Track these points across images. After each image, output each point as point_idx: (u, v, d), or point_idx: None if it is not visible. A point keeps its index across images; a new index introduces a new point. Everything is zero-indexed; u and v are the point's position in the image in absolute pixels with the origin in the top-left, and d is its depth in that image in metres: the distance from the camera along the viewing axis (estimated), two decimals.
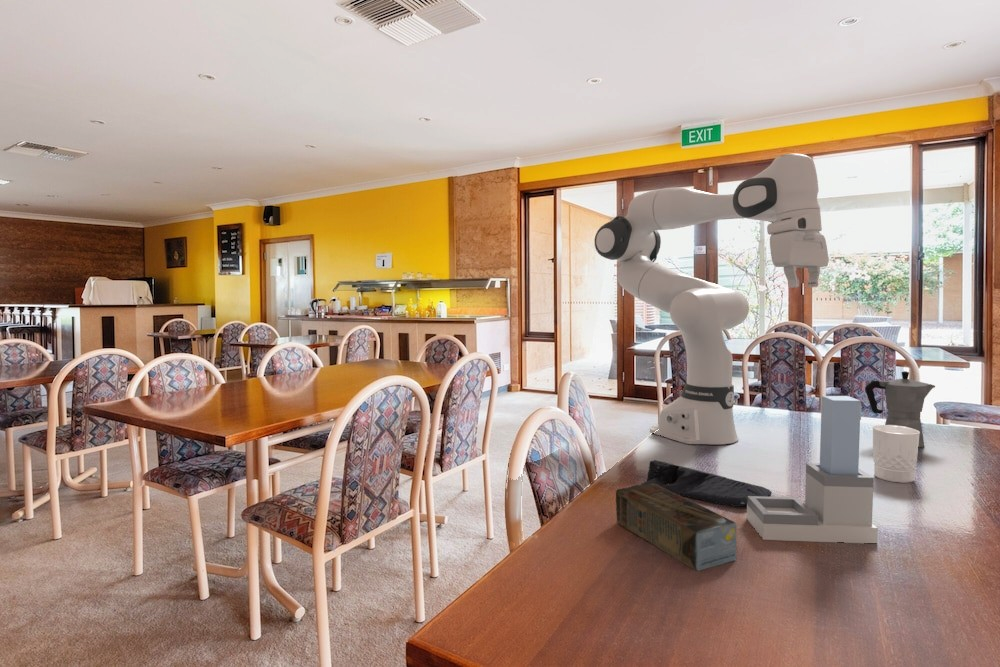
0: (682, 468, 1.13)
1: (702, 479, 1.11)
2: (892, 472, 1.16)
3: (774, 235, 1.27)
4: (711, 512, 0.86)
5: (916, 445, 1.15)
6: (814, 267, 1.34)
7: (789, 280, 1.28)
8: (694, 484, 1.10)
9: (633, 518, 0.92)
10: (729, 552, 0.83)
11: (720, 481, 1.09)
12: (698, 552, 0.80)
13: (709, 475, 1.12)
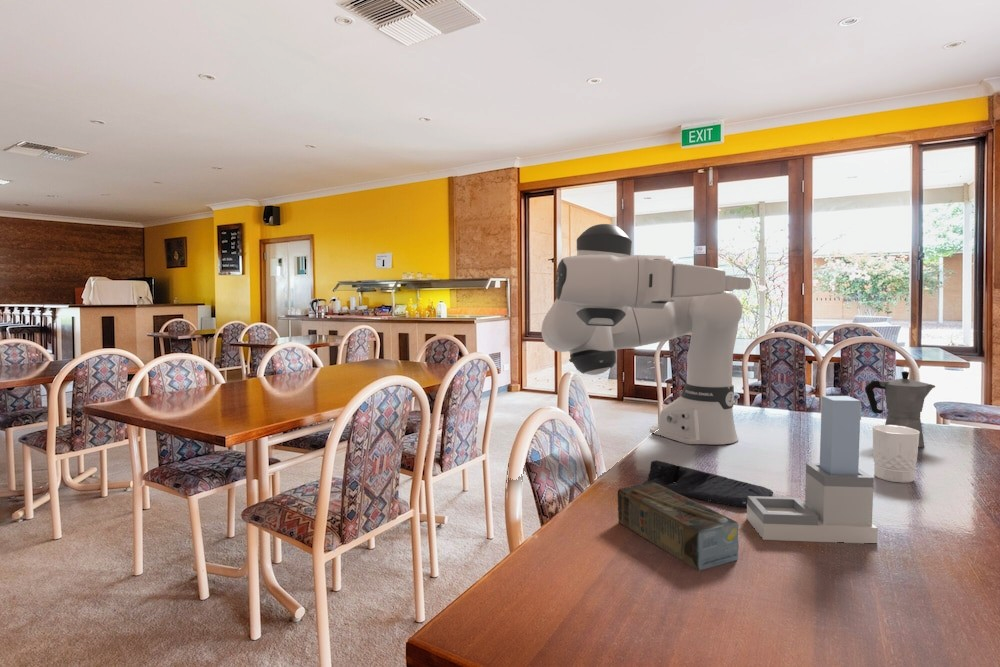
0: (683, 468, 1.13)
1: (703, 479, 1.11)
2: (892, 472, 1.16)
3: (676, 290, 0.88)
4: (713, 512, 0.87)
5: (916, 445, 1.15)
6: None
7: (739, 286, 0.89)
8: (696, 484, 1.10)
9: (635, 518, 0.92)
10: (731, 552, 0.83)
11: (722, 481, 1.09)
12: (700, 552, 0.80)
13: (710, 475, 1.12)
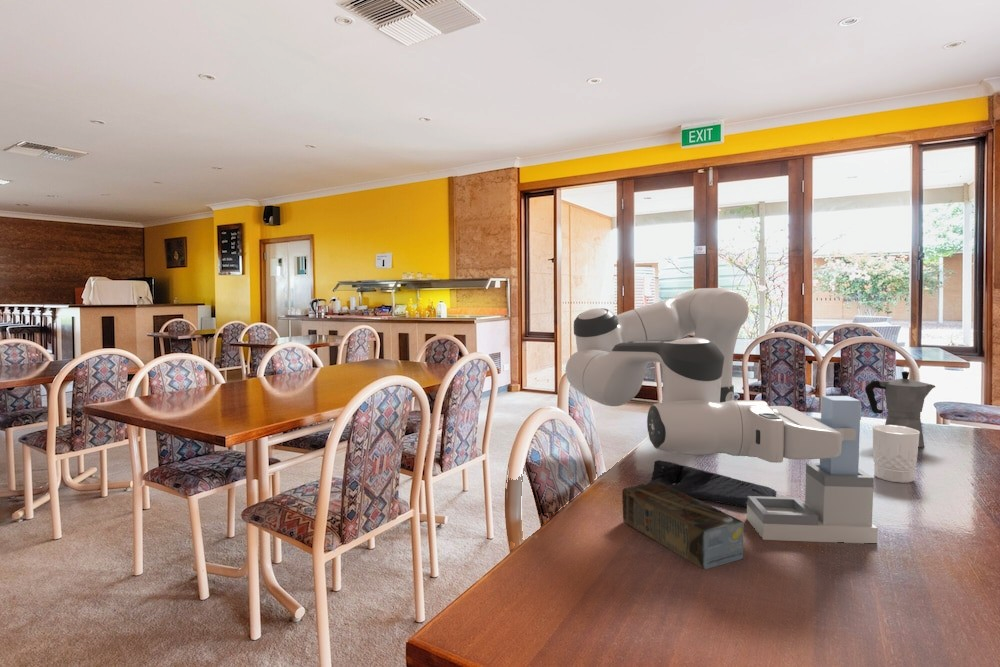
0: (687, 468, 1.13)
1: (707, 479, 1.11)
2: (892, 472, 1.16)
3: (789, 452, 0.84)
4: (718, 511, 0.87)
5: (916, 445, 1.15)
6: None
7: (844, 437, 0.88)
8: (699, 484, 1.10)
9: (640, 517, 0.93)
10: (736, 551, 0.83)
11: (725, 481, 1.09)
12: (706, 551, 0.81)
13: (714, 475, 1.12)
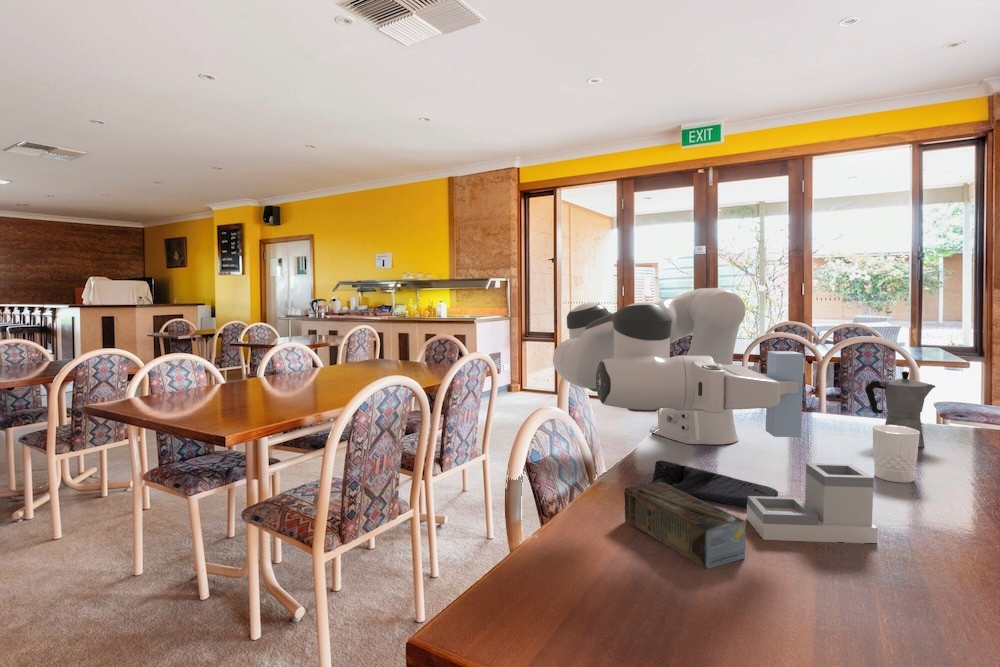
0: (688, 468, 1.13)
1: (709, 479, 1.11)
2: (892, 472, 1.16)
3: (729, 402, 0.85)
4: (720, 511, 0.87)
5: (916, 445, 1.15)
6: None
7: (787, 390, 0.89)
8: (701, 484, 1.10)
9: (642, 517, 0.93)
10: (738, 550, 0.83)
11: (727, 481, 1.09)
12: (708, 550, 0.81)
13: (716, 475, 1.12)
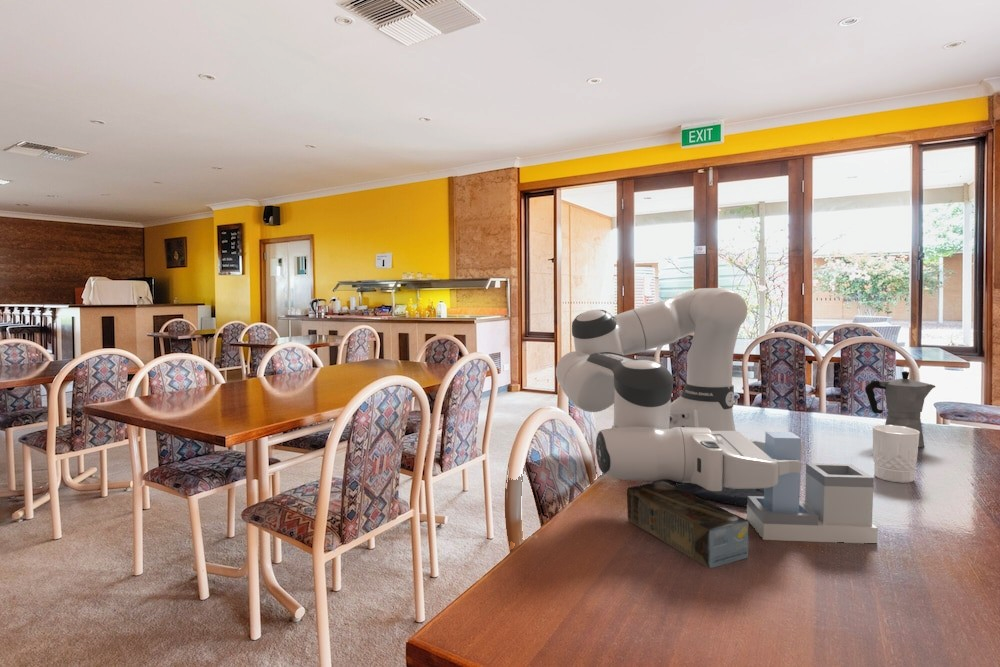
0: None
1: None
2: (892, 472, 1.16)
3: (727, 481, 0.86)
4: (723, 510, 0.87)
5: (916, 445, 1.15)
6: None
7: (790, 470, 0.88)
8: None
9: (645, 516, 0.93)
10: (741, 550, 0.83)
11: None
12: (711, 550, 0.81)
13: None
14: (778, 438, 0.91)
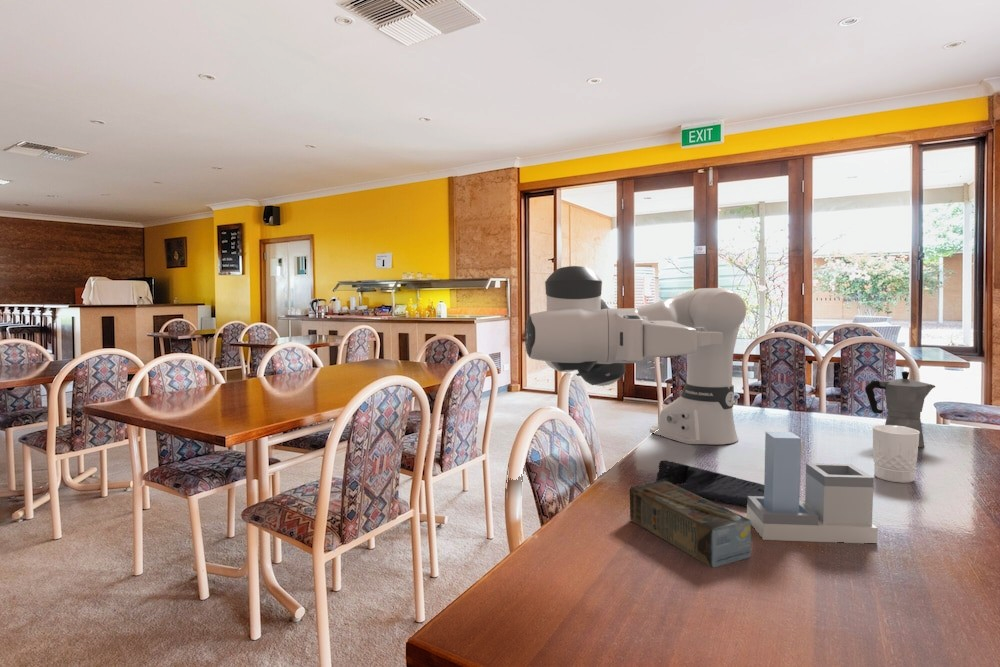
0: (692, 468, 1.13)
1: (712, 479, 1.11)
2: (892, 472, 1.16)
3: (647, 350, 0.85)
4: (725, 510, 0.87)
5: (916, 445, 1.15)
6: None
7: (712, 341, 0.87)
8: (704, 484, 1.10)
9: (648, 516, 0.93)
10: (744, 549, 0.84)
11: (731, 481, 1.09)
12: (714, 549, 0.81)
13: (719, 475, 1.12)
14: (778, 438, 0.91)
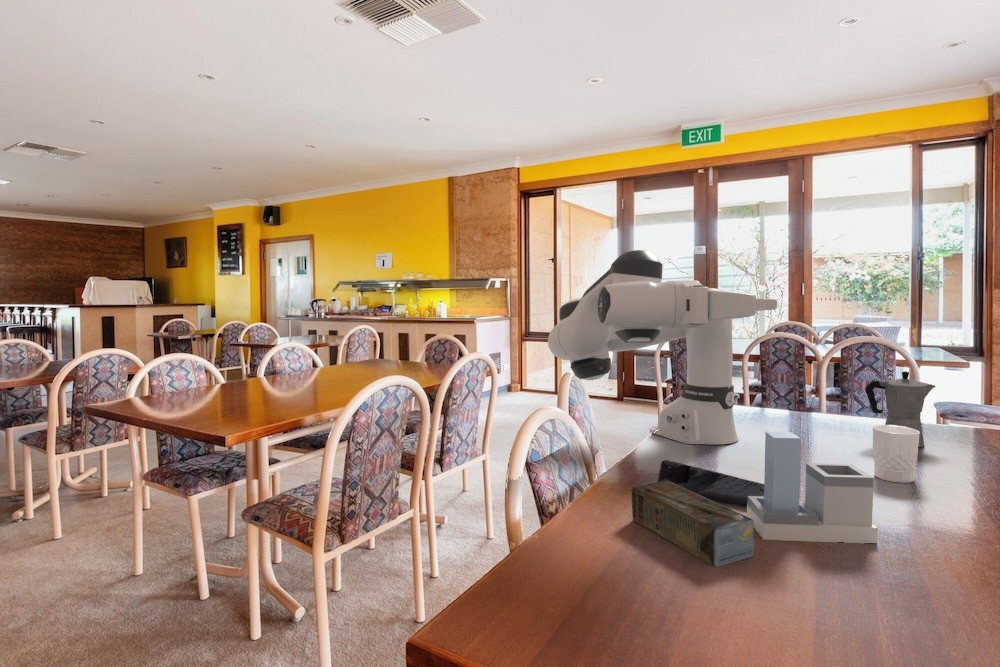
0: (694, 468, 1.13)
1: (714, 479, 1.11)
2: (892, 472, 1.16)
3: (712, 313, 0.98)
4: (728, 509, 0.88)
5: (916, 445, 1.15)
6: None
7: (767, 307, 1.00)
8: (706, 484, 1.10)
9: (650, 515, 0.93)
10: (746, 549, 0.84)
11: (733, 481, 1.09)
12: (717, 549, 0.81)
13: (721, 475, 1.11)
14: (778, 438, 0.91)
